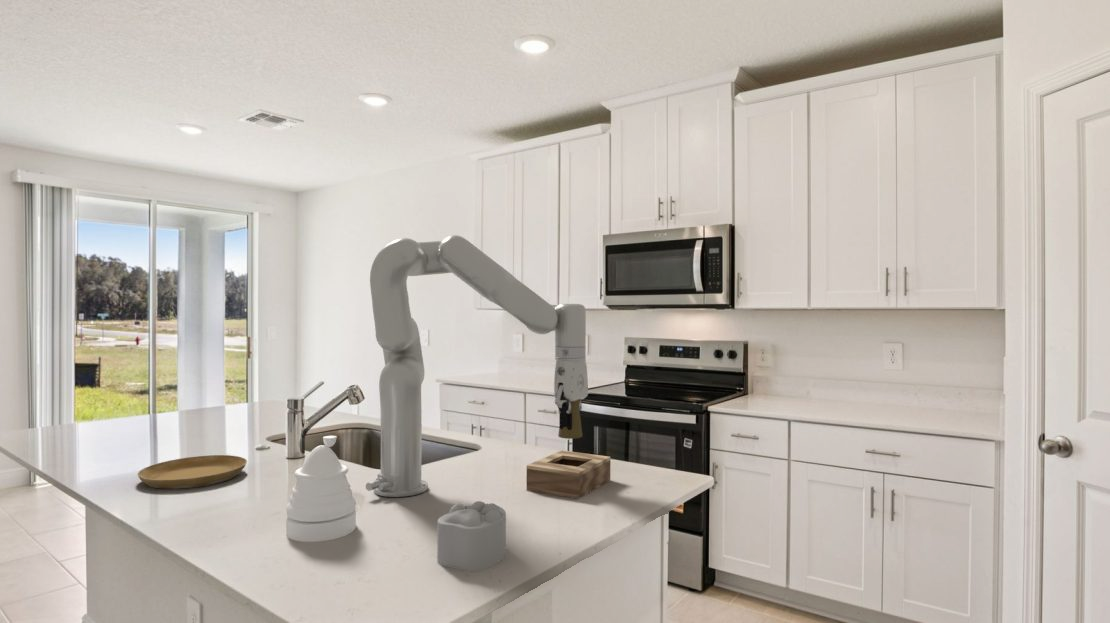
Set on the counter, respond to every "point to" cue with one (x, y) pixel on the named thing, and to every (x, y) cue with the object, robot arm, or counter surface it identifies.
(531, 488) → the drop box
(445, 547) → the lumpy-topped squat cylinder
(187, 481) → the plant saucer
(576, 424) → the cork
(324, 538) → the honey pot
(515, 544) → the counter surface
